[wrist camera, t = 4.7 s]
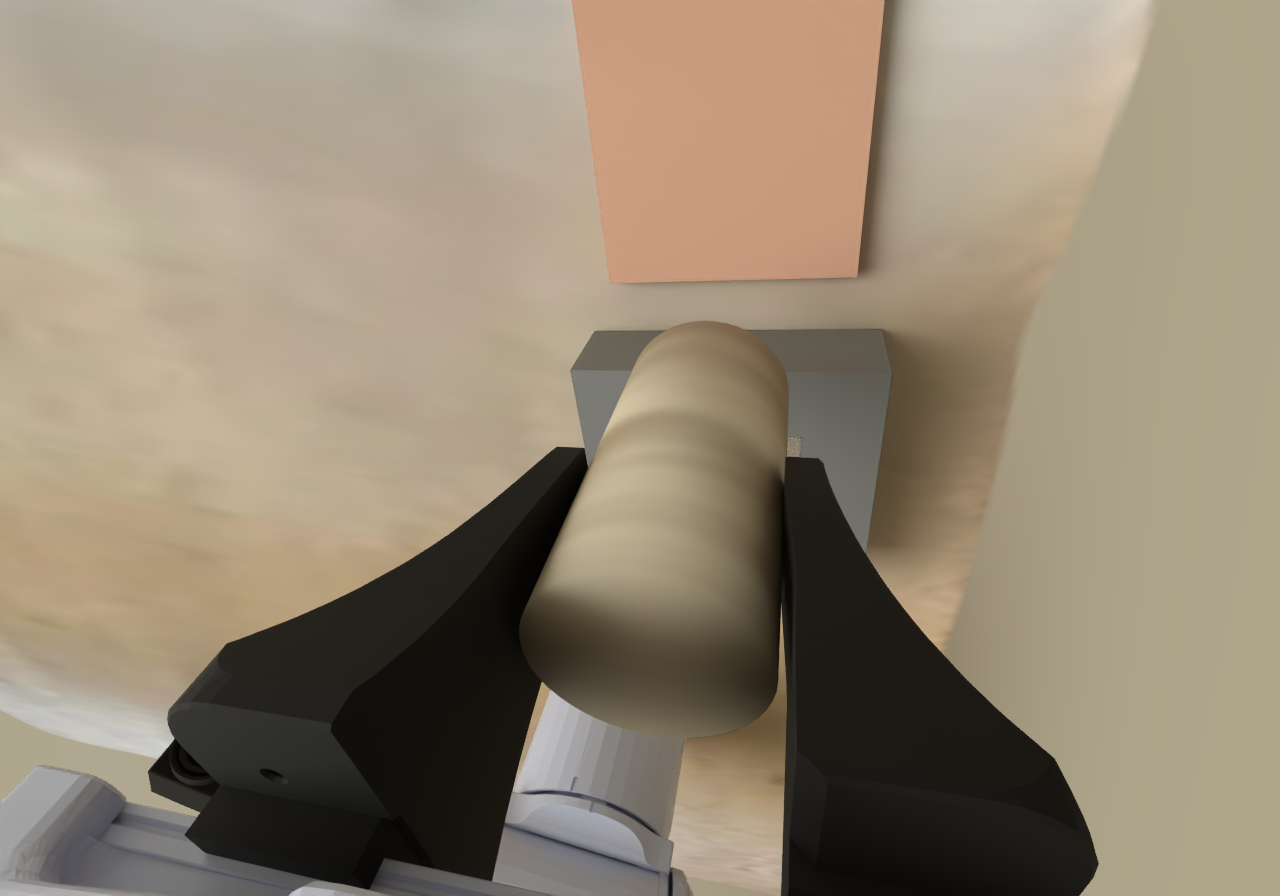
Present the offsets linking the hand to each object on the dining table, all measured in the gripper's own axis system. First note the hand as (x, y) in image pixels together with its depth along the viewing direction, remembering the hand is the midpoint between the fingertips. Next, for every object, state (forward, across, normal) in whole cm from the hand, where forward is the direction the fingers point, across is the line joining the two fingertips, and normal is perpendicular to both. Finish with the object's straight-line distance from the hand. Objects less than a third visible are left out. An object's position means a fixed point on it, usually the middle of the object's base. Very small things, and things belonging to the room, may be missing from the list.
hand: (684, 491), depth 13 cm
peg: (+4, 0, 0) cm, 4 cm away
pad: (+11, 0, -5) cm, 12 cm away
